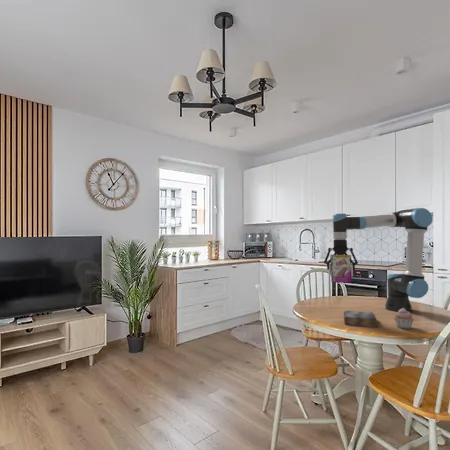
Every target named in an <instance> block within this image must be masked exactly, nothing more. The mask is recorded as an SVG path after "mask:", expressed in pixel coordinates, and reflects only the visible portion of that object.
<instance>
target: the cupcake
mask: <svg viewBox="0 0 450 450" xmlns="http://www.w3.org/2000/svg"><path fill="white" fill-rule="evenodd" d="M393 318H394V320H395V324H396V326H397V328H399V329H403V330H410V329H412V327H413V326H412V325H413V322H414V320H415V319H414V318H413V316H412V314H411V311H409V312H408V311H406V309H404V308H402V309H400V310H399V311H396V313H395V316H393Z"/></svg>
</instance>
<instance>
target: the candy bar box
mask: <svg viewBox="0 0 450 450" xmlns="http://www.w3.org/2000/svg"><path fill="white" fill-rule="evenodd" d="M329 257H330V259H331V262H330V264H331V276H330V282H331V283H346V284H347V283H350V284H351V283H352V276H351V265H352V263H351V262H350V258H351V259H352V254H348V255H345V254H344V255H337V254H336V255H333V254H329Z"/></svg>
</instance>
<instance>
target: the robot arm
mask: <svg viewBox="0 0 450 450" xmlns="http://www.w3.org/2000/svg"><path fill="white" fill-rule="evenodd" d="M432 223H433V214H432V213H431V211H430V210H429V209H426V208H423V207H415V208H411V209H410V208H409V209H408V208H407V209H404V210H400V211H399V210H398V211H394V212H389V213H387V214H378V215H367V216H347V214H346V213H343V212H342V213H335V214H333V216H332V230H333V233H332V235H333V238H332V239H333V247H327V254H326V256H325V258H324V261H323V263H324V264H326V270H327V271H328V275H329V276H330V277H331V258H330V259H329V257H330V255H331V252H332V251H333V252H334V253H333V254H332V255H349V254H348V253H347V252H348V251H349V252H350V255H351V258H350V262H351V277H354V272H355V269H356V265H358V264H359V262H358V260H357V258H356V255H355V253H354V248H352V247H348V241H347V238H348V235H347V233H348V230H349V231H350V230H365V229H368V228H369V229H370V228H380V227H382V228H383V227H390V228H404V230H405V231H406V232H407V238H406V239H407V240H406V241H407V242H406V255H405V256H406V257H405V267H404V268H405V271H404V272H402V273H388V275H387V298H386V301H385V303H384V304H385V305H384V307H385V309H387V311H393V312H398V311H399V310H400V309H402V308H404V309H406V311H408V312H412V311H413V306H412V304H411V301H410V298H414V299H420V298H421V299H422V298H423V297H425V295H427V293H428V292H429V283H428V282H427V281H426V280H425V275H424V274H423V272H422V271H423V256H424V241H425V240H424V239H425V234H426V233H427V231H428V227H429V226H430V225H432ZM352 258H353V259H352ZM328 259H329V260H328ZM409 297H410V298H409Z"/></svg>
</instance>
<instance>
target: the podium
mask: <svg viewBox="0 0 450 450" xmlns="http://www.w3.org/2000/svg"><path fill="white" fill-rule="evenodd" d="M343 319H344V325H346V326H347V325H348V326H356V327H357V326H360V327H370V328H371V327H372V328H373V327H374V328H378V319H377V317H376V315H375V312H371V311H369V312H368V311H359V310H358V311H355V310H344V311H343Z"/></svg>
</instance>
